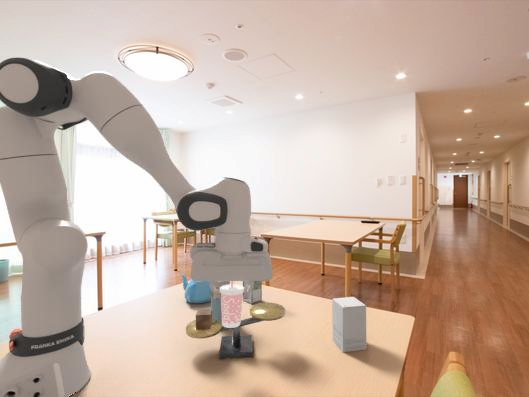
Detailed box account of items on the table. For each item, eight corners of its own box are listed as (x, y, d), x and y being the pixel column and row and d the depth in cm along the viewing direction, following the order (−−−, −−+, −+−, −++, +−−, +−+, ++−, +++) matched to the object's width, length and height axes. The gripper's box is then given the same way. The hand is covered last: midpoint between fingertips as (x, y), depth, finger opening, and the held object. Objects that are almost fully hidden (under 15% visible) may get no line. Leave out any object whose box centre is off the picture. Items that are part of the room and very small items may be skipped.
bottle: (227, 327, 92) (227, 282, 92) (207, 325, 94) (207, 281, 94) (234, 318, 99) (233, 276, 99) (215, 316, 101) (215, 275, 100)
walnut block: (195, 329, 76) (195, 315, 76) (198, 322, 80) (197, 309, 80) (210, 328, 77) (210, 314, 77) (212, 322, 81) (211, 308, 81)
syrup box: (253, 296, 120) (252, 263, 119) (262, 300, 115) (262, 265, 115) (242, 300, 116) (242, 265, 116) (251, 304, 111) (251, 268, 111)
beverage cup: (213, 324, 69) (214, 268, 69) (230, 316, 74) (231, 263, 74) (231, 331, 65) (233, 272, 66) (248, 322, 70) (249, 267, 70)
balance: (182, 362, 73) (182, 321, 73) (189, 342, 83) (189, 305, 83) (287, 356, 76) (287, 316, 75) (282, 337, 86) (282, 301, 85)
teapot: (184, 308, 108) (184, 282, 108) (180, 295, 122) (179, 272, 122) (221, 302, 114) (221, 277, 114) (213, 290, 128) (213, 268, 128)
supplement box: (367, 350, 78) (367, 305, 78) (342, 352, 77) (342, 307, 77) (354, 336, 86) (354, 296, 85) (331, 339, 84) (331, 297, 84)
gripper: (188, 244, 66) (186, 303, 66) (274, 245, 67) (273, 302, 67) (192, 240, 72) (191, 294, 72) (271, 241, 74) (270, 293, 74)
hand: (231, 298), depth 70 cm, fingers closed on beverage cup, 6 cm apart
